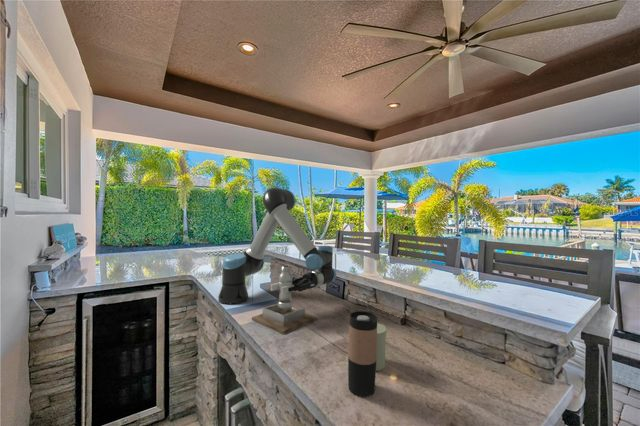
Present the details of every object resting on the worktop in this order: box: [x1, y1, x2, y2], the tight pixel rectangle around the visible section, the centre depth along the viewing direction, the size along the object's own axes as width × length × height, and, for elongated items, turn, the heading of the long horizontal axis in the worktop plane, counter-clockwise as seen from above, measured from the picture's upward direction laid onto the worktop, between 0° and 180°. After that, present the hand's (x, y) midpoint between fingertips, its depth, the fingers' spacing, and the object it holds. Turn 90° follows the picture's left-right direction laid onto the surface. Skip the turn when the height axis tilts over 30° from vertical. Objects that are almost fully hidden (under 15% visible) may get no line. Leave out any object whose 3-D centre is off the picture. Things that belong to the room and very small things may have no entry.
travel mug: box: [347, 310, 378, 398], centre depth 76 cm, size 8×8×20 cm
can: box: [376, 322, 387, 372], centre depth 89 cm, size 9×9×12 cm
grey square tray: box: [262, 302, 306, 326], centre depth 122 cm, size 13×13×4 cm
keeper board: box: [251, 307, 317, 335], centre depth 122 cm, size 20×20×1 cm
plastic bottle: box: [277, 265, 293, 313], centre depth 122 cm, size 6×7×20 cm
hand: (276, 289), depth 118 cm, fingers closed on plastic bottle, 6 cm apart
